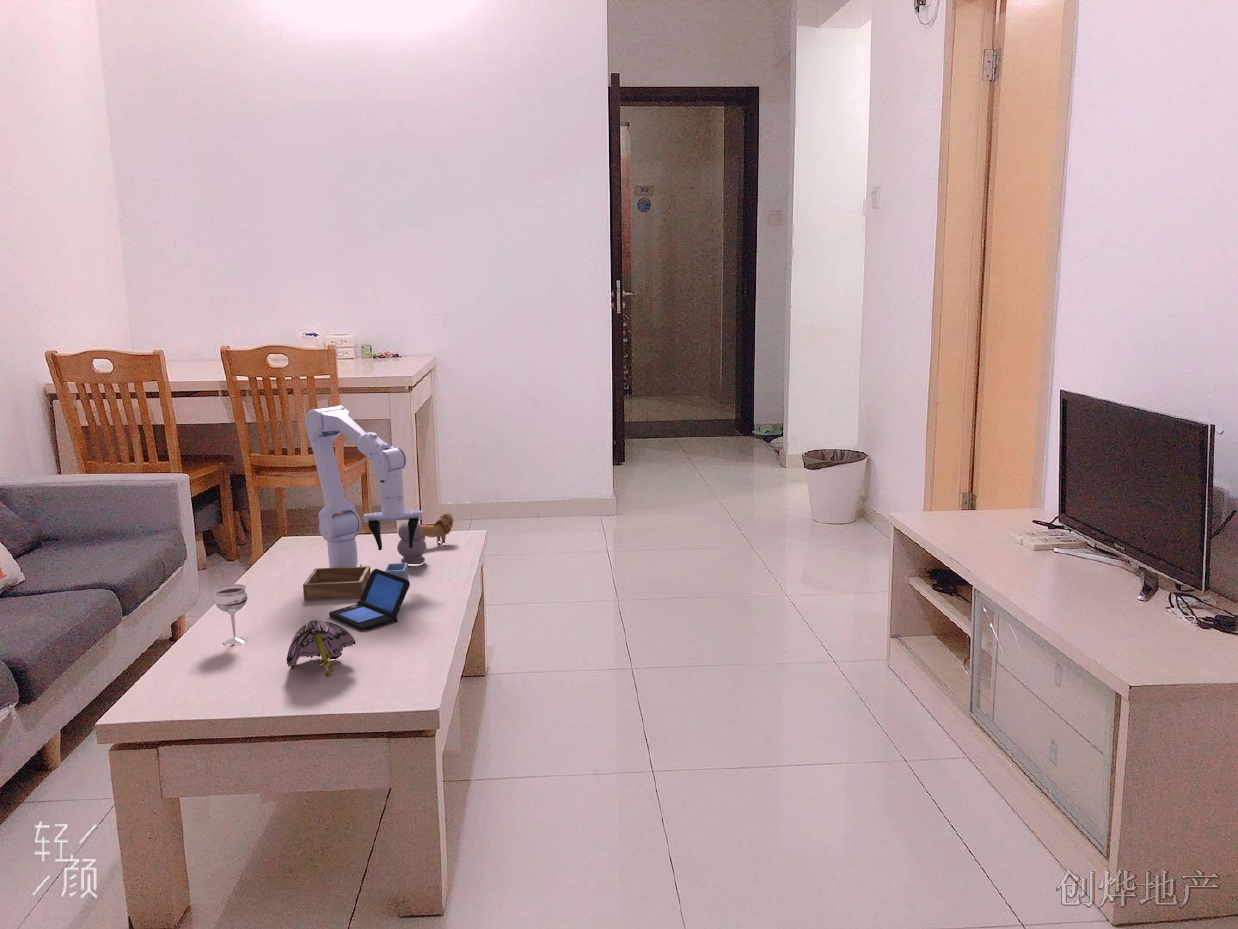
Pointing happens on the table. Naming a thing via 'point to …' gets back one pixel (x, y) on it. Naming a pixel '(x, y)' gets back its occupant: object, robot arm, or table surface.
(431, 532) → the lion figurine
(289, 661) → the dark domed piece
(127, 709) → the table surface
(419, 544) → the grey rounded bulbous piece
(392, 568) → the blue crate
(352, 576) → the tray
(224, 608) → the wineglass
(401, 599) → the handheld game console
